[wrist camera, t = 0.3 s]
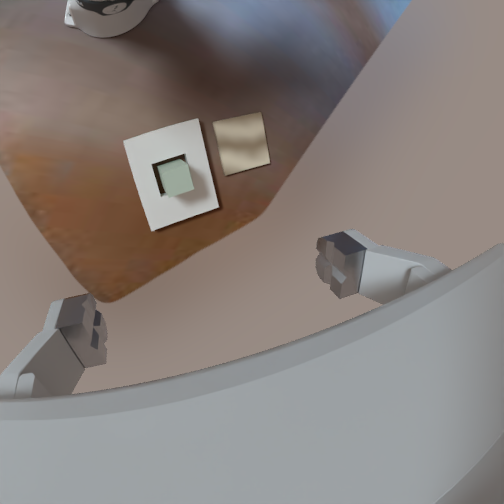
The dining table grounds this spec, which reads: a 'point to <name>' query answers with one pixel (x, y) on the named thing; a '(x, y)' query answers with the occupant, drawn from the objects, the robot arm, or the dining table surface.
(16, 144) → the dining table surface
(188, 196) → the holder
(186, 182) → the block
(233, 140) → the pad
